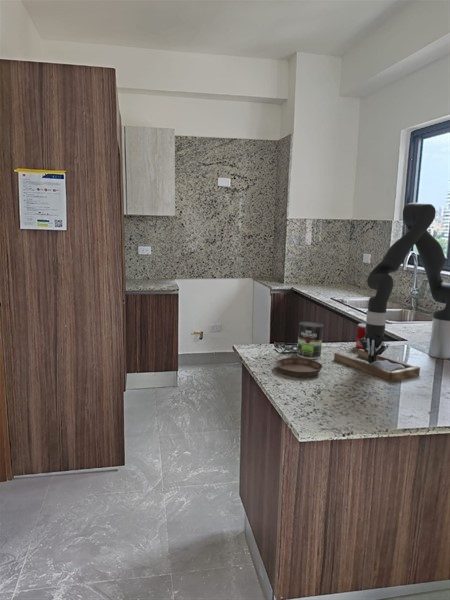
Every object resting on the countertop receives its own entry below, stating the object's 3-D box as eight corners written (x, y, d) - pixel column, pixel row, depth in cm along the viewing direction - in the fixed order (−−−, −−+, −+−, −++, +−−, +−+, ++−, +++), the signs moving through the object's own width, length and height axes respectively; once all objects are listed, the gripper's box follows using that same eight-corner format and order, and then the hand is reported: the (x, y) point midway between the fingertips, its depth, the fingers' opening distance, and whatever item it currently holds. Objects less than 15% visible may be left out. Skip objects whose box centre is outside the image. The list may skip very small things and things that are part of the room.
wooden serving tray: (360, 355, 202) (360, 347, 201) (419, 375, 177) (420, 367, 177) (334, 359, 193) (334, 352, 193) (392, 381, 169) (393, 372, 168)
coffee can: (318, 360, 191) (321, 327, 189) (294, 357, 195) (296, 324, 192) (322, 354, 200) (325, 323, 198) (299, 351, 204) (302, 320, 202)
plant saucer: (270, 374, 171) (271, 366, 171) (281, 362, 188) (281, 355, 187) (318, 382, 165) (318, 374, 165) (324, 368, 182) (325, 361, 181)
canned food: (374, 351, 210) (376, 327, 208) (356, 349, 212) (358, 326, 210) (372, 346, 218) (374, 324, 216) (355, 345, 219) (357, 322, 217)
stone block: (390, 383, 173) (407, 375, 177) (389, 372, 171) (407, 363, 176) (366, 375, 183) (383, 367, 187) (365, 364, 182) (382, 356, 186)
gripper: (395, 325, 180) (391, 367, 183) (369, 318, 191) (364, 358, 194) (383, 326, 176) (378, 369, 179) (356, 319, 187) (352, 360, 190)
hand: (371, 363), depth 186 cm, fingers closed
